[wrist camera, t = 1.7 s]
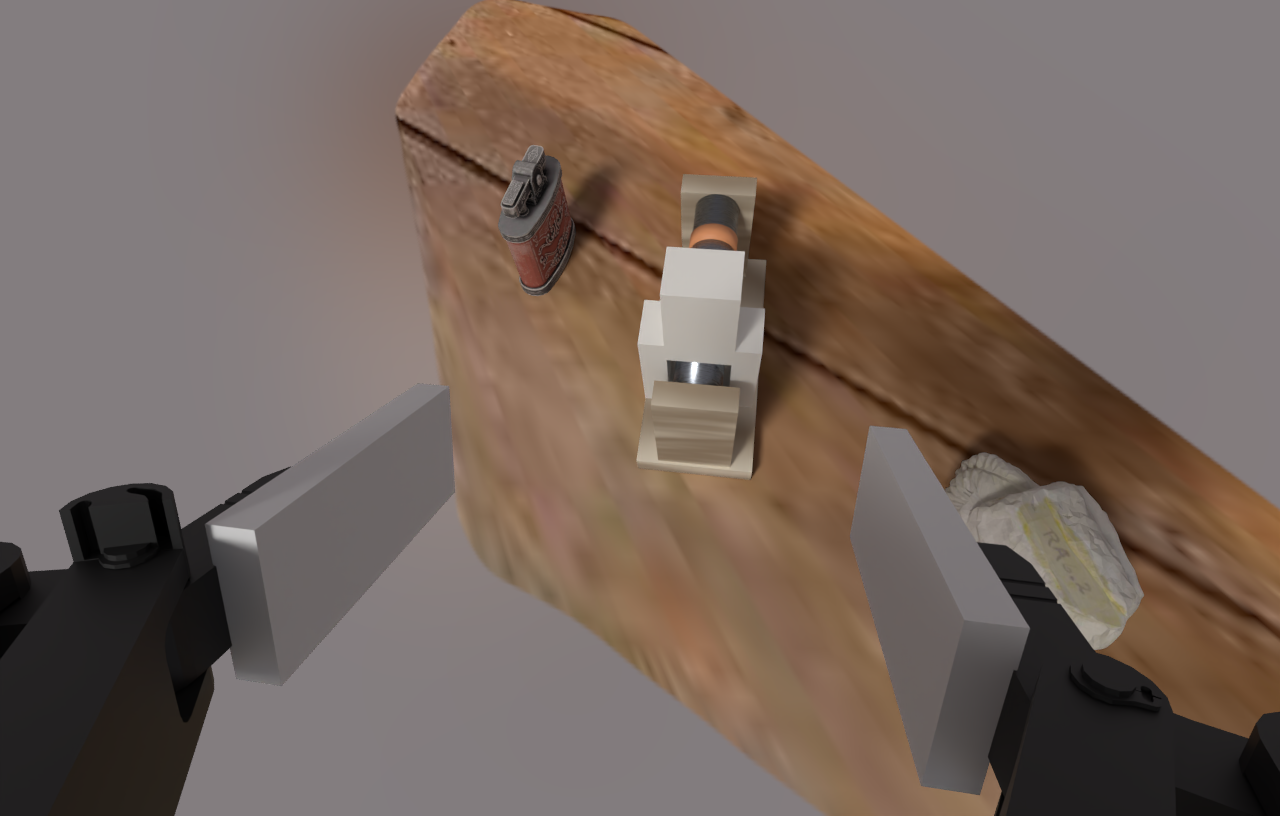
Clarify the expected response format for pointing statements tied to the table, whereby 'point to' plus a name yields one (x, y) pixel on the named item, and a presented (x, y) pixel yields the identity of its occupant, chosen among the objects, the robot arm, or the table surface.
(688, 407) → the pipe stand
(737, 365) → the white pipe saddle block
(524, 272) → the lighter
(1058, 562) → the fossil replica
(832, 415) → the table surface
